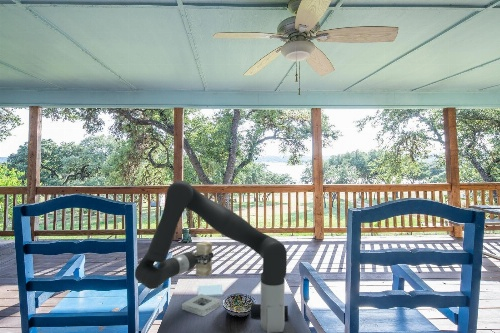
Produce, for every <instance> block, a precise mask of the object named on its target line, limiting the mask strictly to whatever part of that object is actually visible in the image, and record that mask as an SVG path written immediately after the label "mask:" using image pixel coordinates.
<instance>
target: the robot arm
mask: <svg viewBox="0 0 500 333" xmlns="http://www.w3.org/2000/svg"><path fill="white" fill-rule="evenodd" d="M186 209H188V210H189V211H192V212H193V213H195V214H196V215H198V217H200V218H201V219H202V220H203V221H204V222H205V223H206V224H207V225H208V226H210V227H211V228H212V229H214V230H215V231H217V232H218V233H220V234H221V235H223V236H225V238H226V237H227V238H228V239H230V240H233V241H235V242H238V243H241V244H243V245H245V246H247V247H249V248H250V249H251V250H252V251H254V252H255V253H257V254H258V255H259V256H260V258H262V272H261V274H260V304H261V318H260V328H261V329H262V330H263V331H264V332H266V333H283V332H284V329H285V319H284V306H285V279H286V276H287V265H288V264H287V262H288V261H287V259H288V258H287V256H288V254H287V249H286V246H285V245H284V244H283V243H282V242H280V240H278V239H276V238H275V237H272V236H270V235H267V234H265V233H263V231H260V230H258V229H256V228H255V227H254V226H252V225H251V224H250V222H248V221H247V220H245V219H244V218H243V217H241V216H240V215H239V214H237V213H235V212H234V211H232V210H231V209H229V208H227V207H226V206H224V205H222V204H220V203H218V202H216V201H214V200H212V199H210V198H208V197H207V196H206V195H204V194H202V193H201V192H200V191H199V190H197V189H196V188H195V187H193V186H192V185H191V184H190V183H189V182H187V181H185V180H176V181H174V182H173V183H171V184H170V185H169V186H168V188H167V190H166V196H165V202H164V207H163V210H162V214H161V218H160V219H159V222H158V225H157V228H156V230H155V232H154V234H153V237H152V239H151V242H150V244H149V247H148V249H147V252H146V253H145V254H144V256H143V257H142V259H141V260H140V262H139V263H138V264H137V266H136V268H135V270H134V276H135V279H136V281H138V282H139V283H141V285H143V286H145V288H147V289H150V290H154V289H158V288H159V287H160V286H162V285H163V284H164V283H165V282H166V281H168V280H169V279H171V278H173V277H176V276H179V275H182V274H184V273H186V272H190V271H191V270H193V269H194V268H196V265H197V264H199V263H203V265H206V264H207V263H209V262H210V261H211V258H212V259H213V258H214V252H212V253H209V254H206V255H204V254H200V255H196V251H195V252H194V251H185V252H183V253H179V254H177V255H174V256H172V257H169V258H167V257H168V255H169V251H170V249H171V247H172V243H173V240H174V239H175V238H174V237H175V234H176V230H177V227H178V224H179V222H180V219H181V218H182V215H183V213H184V211H185V210H186ZM201 256H202V260H201ZM205 256H206V257H205ZM204 257H205V258H204ZM166 258H167V259H166ZM155 262H156V263H158V265H157V267H156V266H155V265H154V264H155Z"/></svg>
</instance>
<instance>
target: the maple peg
mask: <svg viewBox="0 0 500 333" xmlns="http://www.w3.org/2000/svg"><path fill="white" fill-rule="evenodd" d="M195 246H196V248H195V252H196V255H200V254H204V255H206V254H209V253H213V242H208V241H200V242H197V243H196V245H195ZM205 257H206V256H205ZM205 257H204V258H205ZM201 260H202V256H201ZM212 267H213V258H211V261H210V262H209V263H207V264H206V265H203V263H199V264H197V265H195V276H199V277H203V278H206V277H208V276H210V275H212V273H213V272H212V271H213V270H212V269H213V268H212Z"/></svg>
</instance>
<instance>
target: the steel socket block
mask: <svg viewBox="0 0 500 333" xmlns="http://www.w3.org/2000/svg"><path fill="white" fill-rule="evenodd" d="M201 304H203V305H201ZM181 306H182V307H181V308H182V309H181V310H183V311H185V312H188V313H191V314H195V315H197V316H201V317H205V316H207V315H208V314H210V313H211V312H213V311H215V310H216V309H218V308H221V306H222V299H221V298H216V297H214V296H206V295H203V294H200V295H198V294H197V295H196V296H194V297H192V298H189V299H188V300H187V301H185V302H182V304H181Z"/></svg>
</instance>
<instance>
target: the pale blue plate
mask: <svg viewBox="0 0 500 333" xmlns="http://www.w3.org/2000/svg"><path fill="white" fill-rule="evenodd" d="M197 292H198V293H197V296H198V295H200V294H203V295H206V296H210V297H222V296H224V290H223V284H209V285H207V284H206V285H198V290H197Z"/></svg>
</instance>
